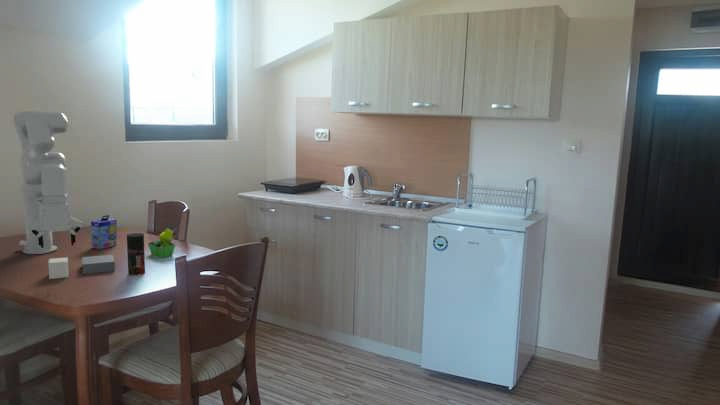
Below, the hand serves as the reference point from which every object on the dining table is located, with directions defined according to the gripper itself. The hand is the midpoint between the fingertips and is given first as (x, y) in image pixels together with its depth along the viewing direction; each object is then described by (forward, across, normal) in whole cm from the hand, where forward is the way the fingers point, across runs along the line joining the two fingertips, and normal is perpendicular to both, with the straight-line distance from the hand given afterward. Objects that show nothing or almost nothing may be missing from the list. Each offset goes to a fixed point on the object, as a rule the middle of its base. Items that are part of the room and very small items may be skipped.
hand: (57, 246), depth 193 cm
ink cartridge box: (+11, +17, +42) cm, 46 cm away
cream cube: (+12, 0, +1) cm, 12 cm away
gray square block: (+12, +13, +6) cm, 19 cm away
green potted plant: (+11, +38, +18) cm, 44 cm away
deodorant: (+12, +26, -6) cm, 29 cm away
